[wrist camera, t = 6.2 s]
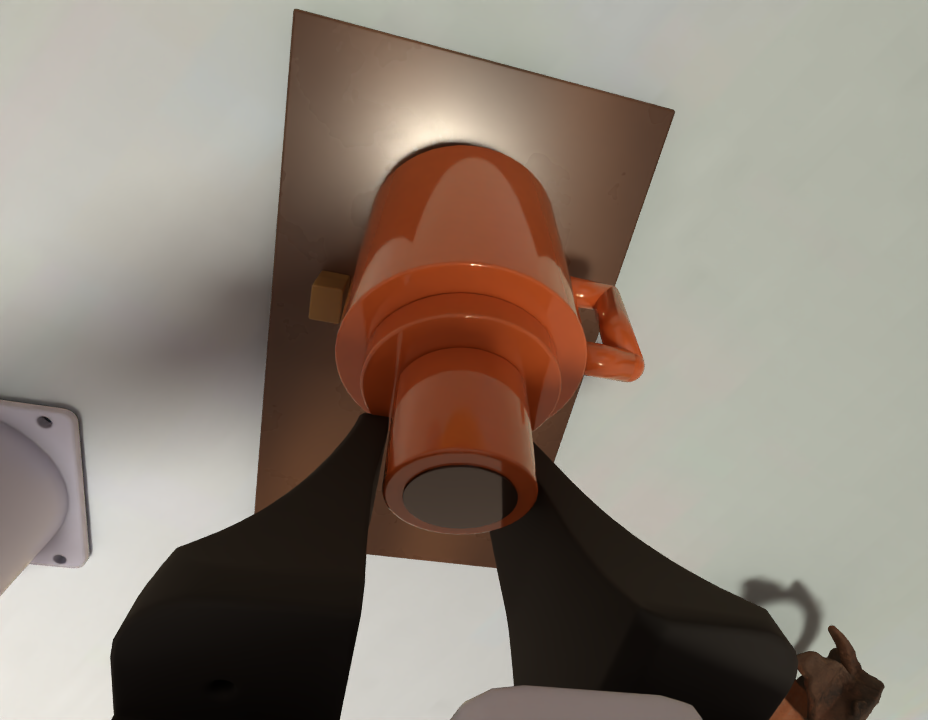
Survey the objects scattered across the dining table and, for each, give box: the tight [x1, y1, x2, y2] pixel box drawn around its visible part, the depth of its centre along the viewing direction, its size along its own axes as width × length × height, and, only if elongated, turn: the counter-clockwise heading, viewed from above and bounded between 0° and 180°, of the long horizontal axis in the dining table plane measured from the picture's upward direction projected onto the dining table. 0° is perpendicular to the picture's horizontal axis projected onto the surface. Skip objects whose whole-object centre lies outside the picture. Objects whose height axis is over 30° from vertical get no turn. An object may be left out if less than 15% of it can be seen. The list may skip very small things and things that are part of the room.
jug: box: [335, 145, 645, 534], centre depth 14 cm, size 6×8×10 cm
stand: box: [254, 9, 675, 568], centre depth 19 cm, size 12×20×3 cm, turn 167°
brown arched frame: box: [769, 626, 884, 720], centre depth 27 cm, size 12×10×8 cm
